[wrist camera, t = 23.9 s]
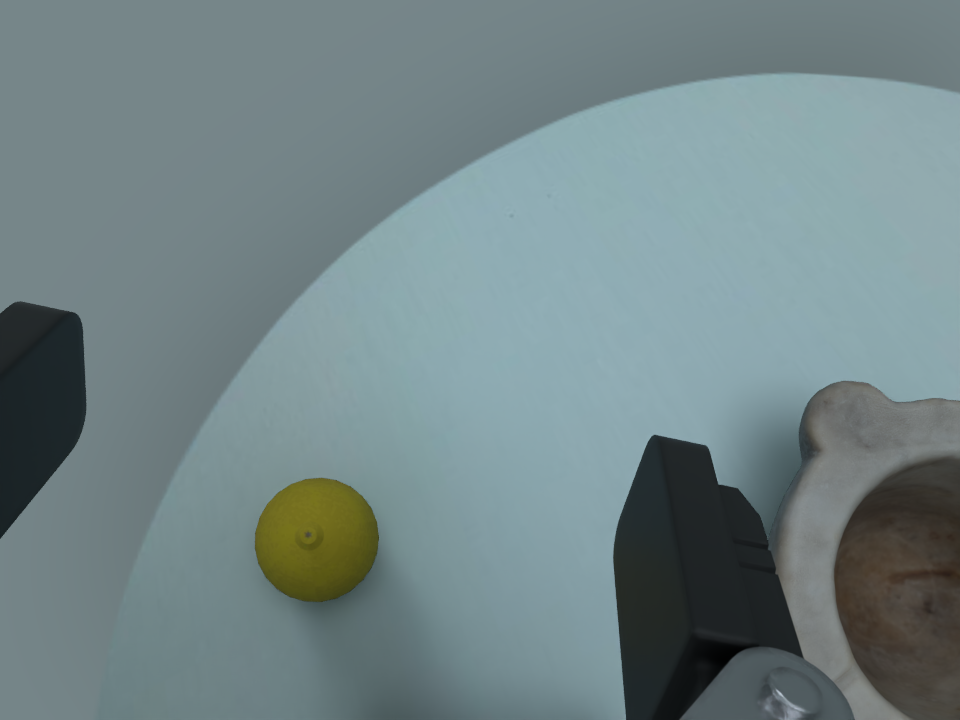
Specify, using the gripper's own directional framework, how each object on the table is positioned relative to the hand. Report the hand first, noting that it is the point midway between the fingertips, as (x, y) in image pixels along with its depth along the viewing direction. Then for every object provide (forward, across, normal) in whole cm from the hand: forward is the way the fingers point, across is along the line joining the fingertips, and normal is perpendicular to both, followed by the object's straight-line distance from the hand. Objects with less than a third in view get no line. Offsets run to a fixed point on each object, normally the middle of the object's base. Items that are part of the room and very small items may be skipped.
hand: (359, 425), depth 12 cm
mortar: (+25, -25, +22) cm, 41 cm away
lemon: (+22, +3, +24) cm, 33 cm away
